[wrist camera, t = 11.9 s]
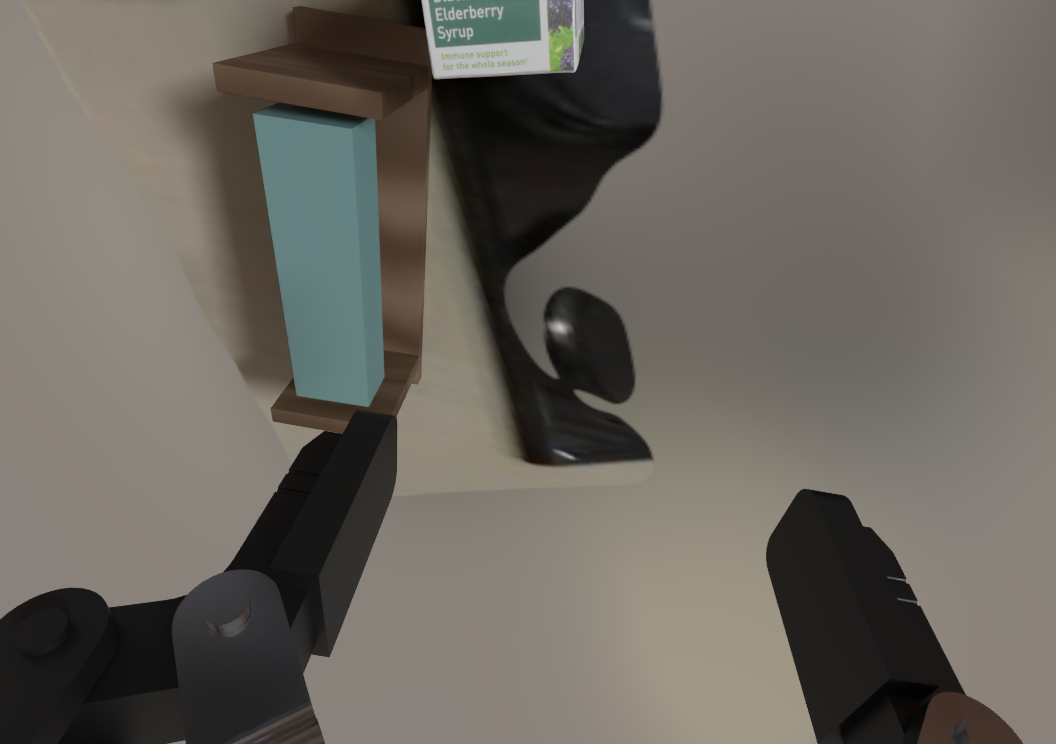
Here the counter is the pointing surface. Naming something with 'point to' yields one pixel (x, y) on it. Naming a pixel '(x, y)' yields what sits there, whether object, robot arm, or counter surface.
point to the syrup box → (503, 37)
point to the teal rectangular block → (326, 246)
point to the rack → (402, 169)
